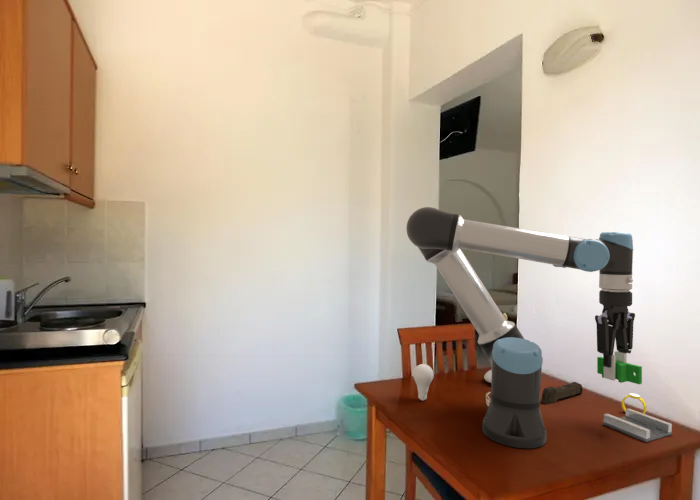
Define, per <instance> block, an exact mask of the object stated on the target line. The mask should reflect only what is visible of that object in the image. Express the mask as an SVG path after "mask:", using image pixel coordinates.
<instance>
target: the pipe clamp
mask: <svg viewBox="0 0 700 500" xmlns="http://www.w3.org/2000/svg"><path fill="white" fill-rule="evenodd" d="M596 359H597V360H596V361H597V362H596V363H597V365H596V366H597V367H596V368H597V369H596V370H597V371H596V372H597V374H599V375H601V378H603V379H605V378H604V365H603V356H597V358H596ZM615 380H617V381H618V383H621V384H622V383H627V382H629V383H633V384H636V385H642V384H643V383H642V381H643V366H641V365H637V364H633V363H628V362H626V363H625V362H621V361H616V360H615Z"/></svg>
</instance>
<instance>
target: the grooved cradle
mask: <svg viewBox="0 0 700 500" xmlns="http://www.w3.org/2000/svg"><path fill="white" fill-rule="evenodd" d="M624 415H625V416H621V417H618V416H615V415H612V414H610V413H604V414H603V425H604V426H605V427H609V428H610V429H613V430H616V431H619V432H621V433H623V434H626V435H628V436H630V437H633V438H635V439H637V440H639V441H643V442H645V443H647V442H651V441H654V440H658V439H661V438H665V437H668V436H671V435H672V430H673V429H672V427H673V424H672V423H671V422H668V421H665V420H662V419H660V418H657V417H654V416H652V415H648V414H647V413H645V414H643V412H640V411H637V410H634V409H632V408H626V412H625V414H624Z"/></svg>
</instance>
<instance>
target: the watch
mask: <svg viewBox="0 0 700 500" xmlns="http://www.w3.org/2000/svg"><path fill="white" fill-rule="evenodd" d="M627 398H630V399H635V400H638V401H639V402H641V403H642V405H643V411H642V413H643V414H646V412H647V411H648V410H647V409H648V408H647V407H648V405H647V404H646V402H645V400H644V399H643V398H642V397H641V395H640V394H638V393H634V392H633V393H632V392H630V393H628V395H625V396H623V398H622V400H621V408H622V410H623V412H625V413H626V409H627V408H626V405H625V400H626V399H627Z"/></svg>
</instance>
